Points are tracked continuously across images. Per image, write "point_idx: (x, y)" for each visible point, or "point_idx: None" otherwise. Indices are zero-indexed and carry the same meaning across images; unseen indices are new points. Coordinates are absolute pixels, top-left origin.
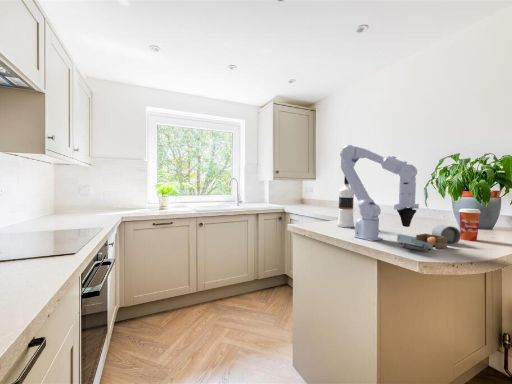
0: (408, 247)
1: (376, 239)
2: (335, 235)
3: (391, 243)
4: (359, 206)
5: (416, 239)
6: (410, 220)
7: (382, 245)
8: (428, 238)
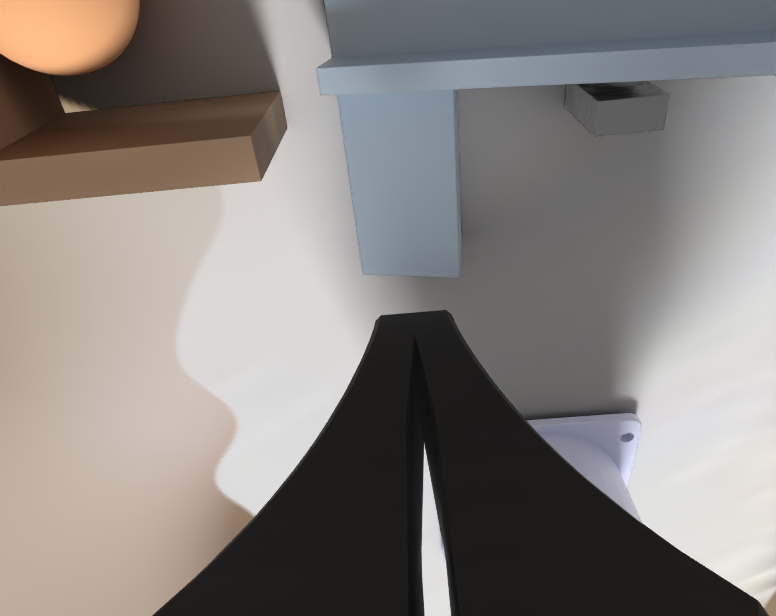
0: None
1: (559, 423)
2: None
3: (533, 285)
4: None
5: (272, 148)
6: (397, 393)
7: (741, 259)
8: (94, 28)
